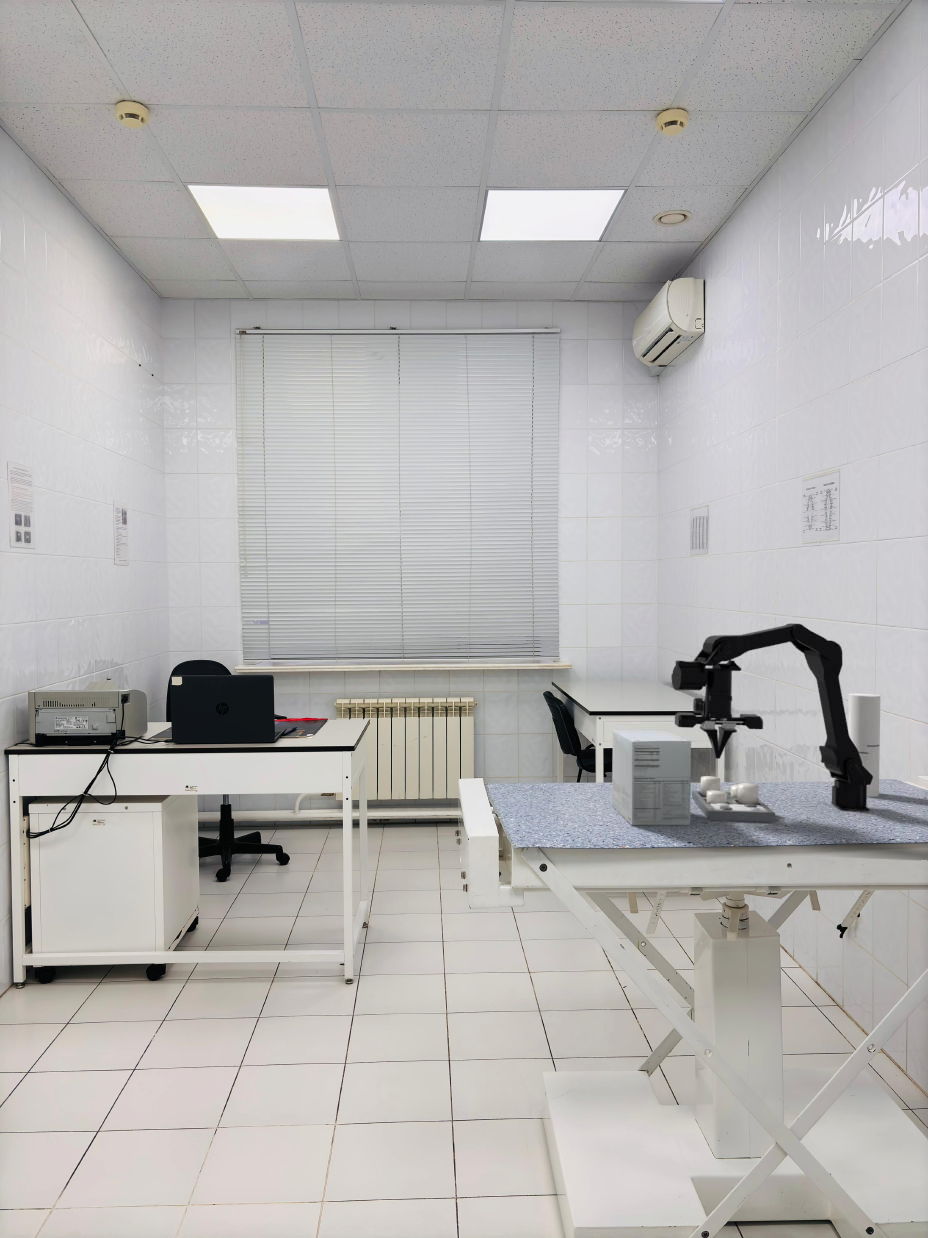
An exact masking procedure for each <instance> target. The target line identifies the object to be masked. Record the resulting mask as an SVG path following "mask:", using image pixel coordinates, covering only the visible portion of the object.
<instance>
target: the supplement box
mask: <svg viewBox="0 0 928 1238" xmlns="http://www.w3.org/2000/svg"><path fill="white" fill-rule="evenodd" d="M691 768H692V741H691V740H688V739H685V738H683V737H681V736H678V734H677V735H676V734H675V733H672V732H669V731H667V730H645V729H644V730H643V729H640V730H635V729H634V730H632V729H631V730H630V729H628V730H627V729H626V730H623V729H622V730H621V729H620V730H619V729H613V730H612V779H611V780H612V781H611V782H612V783H611V785H612V789H611V791H612V792H611V793H612V794H611V799H612V800H611V802H612V803H611V806H612V807H613V808H614V809H615V810H616V811H617V812H618V813H619V815H621V817H623V818H624V819H625V820H626V821H627V823H629V824H630V825H631V826H690V825H691V797H692V790H691V785H692V784H691V782H692V780H691V779H692V776H691V775H692V774H691V773H692V772H691Z"/></svg>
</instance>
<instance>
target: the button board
mask: <svg viewBox="0 0 928 1238" xmlns="http://www.w3.org/2000/svg"><path fill="white" fill-rule="evenodd" d="M725 792H726V793H727V804H726V803H717V804H707V796H703V795H701V790H691V800H692V799H693V800H694V801H695V802H694V801H693V800H692V801H693V802H694V804H695V805H696V806H697V805H698V806H697V807H698V809H700V811H701V812H702V813H703V815H704V816H705V817H706V818H707V819H708V821H729V822H731V821H732V822H733V821H735V822H753V821H754V823H755V821H756V822H757V823H759V822H760V823H776V812H774V810H772V809H771V808H770V807H769V806H767V804H766V803H764V802H763V801H762V800H761V799H759V798H758V804H757V805H754V804H740V803H738V798H732V797H731V791H725Z"/></svg>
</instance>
